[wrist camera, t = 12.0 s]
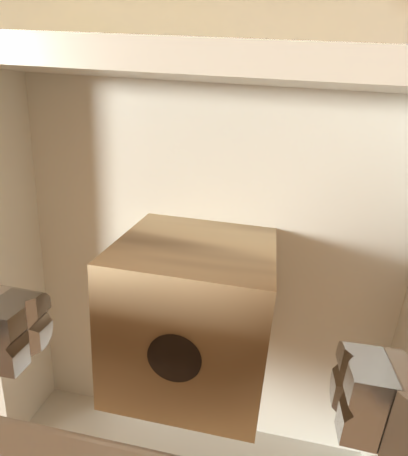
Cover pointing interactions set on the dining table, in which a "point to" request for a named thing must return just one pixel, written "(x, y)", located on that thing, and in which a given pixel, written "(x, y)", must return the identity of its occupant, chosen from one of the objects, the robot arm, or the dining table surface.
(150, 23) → the dining table surface
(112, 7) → the dining table surface
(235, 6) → the dining table surface
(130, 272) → the maple block
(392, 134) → the cream tray
